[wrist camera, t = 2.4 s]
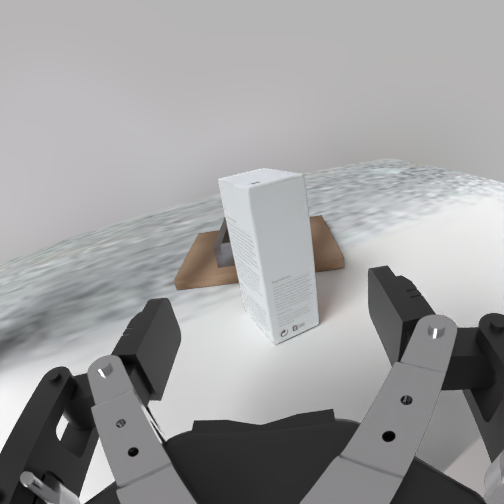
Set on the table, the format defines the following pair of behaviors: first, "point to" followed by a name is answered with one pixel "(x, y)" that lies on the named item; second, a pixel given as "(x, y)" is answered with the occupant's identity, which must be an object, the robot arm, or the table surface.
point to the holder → (223, 265)
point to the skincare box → (272, 249)
